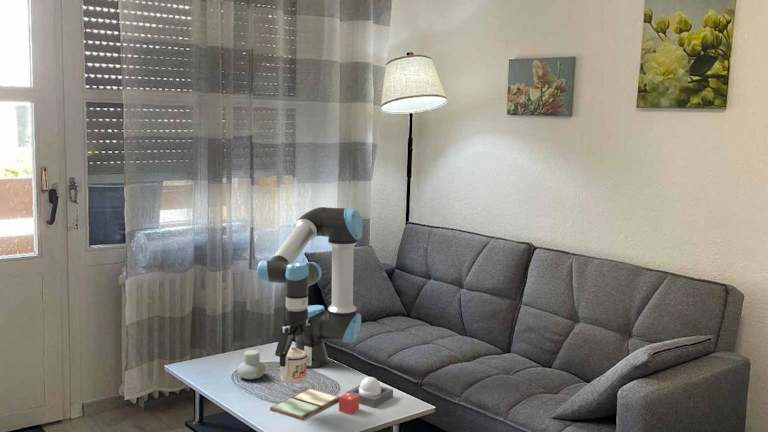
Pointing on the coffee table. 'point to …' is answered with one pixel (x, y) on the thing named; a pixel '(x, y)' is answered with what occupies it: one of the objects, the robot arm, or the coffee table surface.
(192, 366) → the coffee table surface
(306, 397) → the wooden picture frame
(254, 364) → the air freshener
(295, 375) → the teacup with lid
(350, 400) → the red die
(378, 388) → the dome button
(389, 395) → the button bezel
